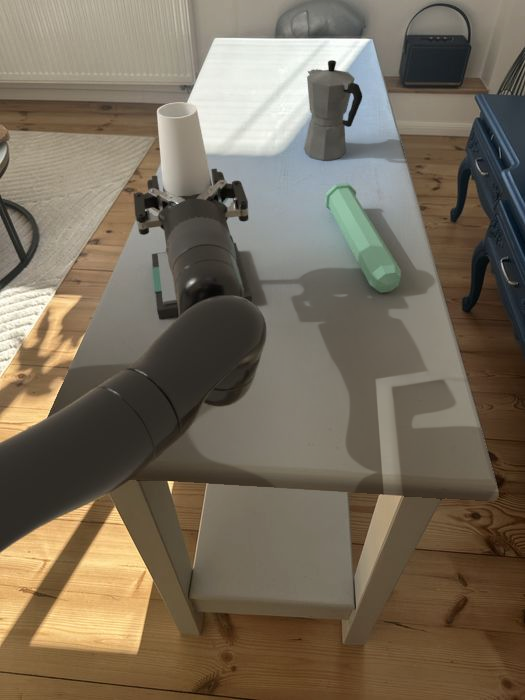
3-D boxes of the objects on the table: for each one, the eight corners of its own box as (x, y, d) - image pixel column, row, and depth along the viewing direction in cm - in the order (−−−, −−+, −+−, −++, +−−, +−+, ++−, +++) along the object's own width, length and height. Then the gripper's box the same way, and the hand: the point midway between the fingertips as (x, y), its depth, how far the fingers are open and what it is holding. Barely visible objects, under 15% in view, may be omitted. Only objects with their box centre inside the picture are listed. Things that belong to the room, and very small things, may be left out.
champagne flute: (217, 286, 72) (199, 122, 55) (173, 283, 73) (141, 121, 55) (224, 259, 77) (209, 99, 59) (182, 256, 77) (156, 98, 60)
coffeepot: (289, 146, 109) (291, 56, 95) (321, 135, 112) (327, 47, 99) (335, 173, 100) (345, 78, 87) (368, 159, 104) (382, 67, 90)
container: (404, 263, 69) (350, 176, 86) (366, 280, 70) (320, 191, 87) (411, 289, 74) (358, 202, 90) (374, 305, 75) (329, 216, 91)
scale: (158, 319, 71) (155, 307, 69) (153, 262, 80) (150, 250, 79) (252, 304, 73) (251, 292, 71) (236, 251, 82) (235, 239, 80)
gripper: (143, 282, 57) (138, 209, 68) (261, 265, 59) (238, 197, 69) (129, 227, 51) (126, 157, 62) (260, 210, 53) (235, 145, 64)
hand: (185, 178), depth 66 cm, fingers open, 7 cm apart
